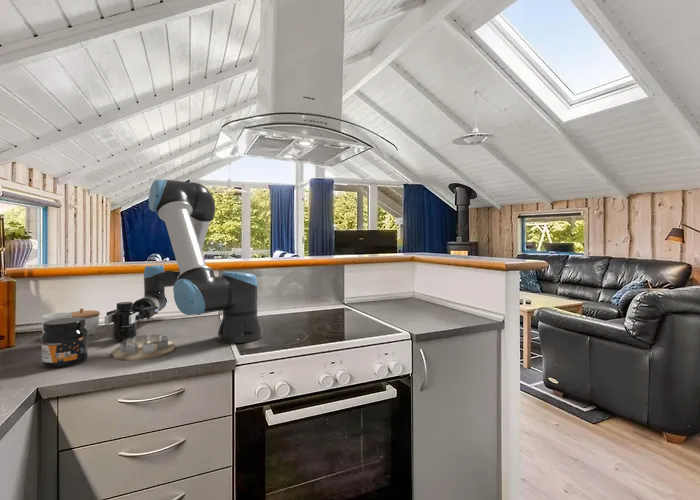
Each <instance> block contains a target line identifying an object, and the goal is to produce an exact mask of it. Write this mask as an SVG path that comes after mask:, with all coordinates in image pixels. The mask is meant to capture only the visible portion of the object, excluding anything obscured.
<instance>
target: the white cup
mask: <svg viewBox="0 0 700 500" xmlns="http://www.w3.org/2000/svg"><path fill="white" fill-rule="evenodd" d="M69 317H72V313H71V312H54V313H53V312H52V313H48V314H44V315H41V325H42V326H41V327H42V333H43V332H44V331H43V323H44V322H46V321H49V320H53V319H59V318H69Z"/></svg>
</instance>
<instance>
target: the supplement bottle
mask: <svg viewBox="0 0 700 500" xmlns="http://www.w3.org/2000/svg"><path fill="white" fill-rule="evenodd" d="M133 303H134V302H132V301H120V302H116V309H117V311H115V312H114V314H113V322H112V325H113V326H112V327H113V328H112V329H113V331H112V336H113V338H114V340H117V341H118V340H121V341H123V340H125V339H128V338H132V339H134V338H136V336H137V321H136V322H134V323H132V324H129V316H130V315H132V314H134V313H136V311H135V310H133V309H132V308H133ZM116 309H115V310H116Z"/></svg>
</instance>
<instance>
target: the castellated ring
mask: <svg viewBox="0 0 700 500" xmlns="http://www.w3.org/2000/svg"><path fill="white" fill-rule="evenodd" d="M147 337H148V336H147V334H143V335H136V336H135V343H136V345H133V343H134V342H133V338H128V339H123V340H121V341H122V342H119V347H120V351H121V353H126V354H128V355H136V354H138V345H140V344H145V345H142V353H143V354H147V353H153V352H154V343H157V350H163V349H165V348H167V346H168V341H169V338H168V337H169V336H167V335H162V334H151V335H150V341H151V344H146V343H147V341H148V338H147Z"/></svg>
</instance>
